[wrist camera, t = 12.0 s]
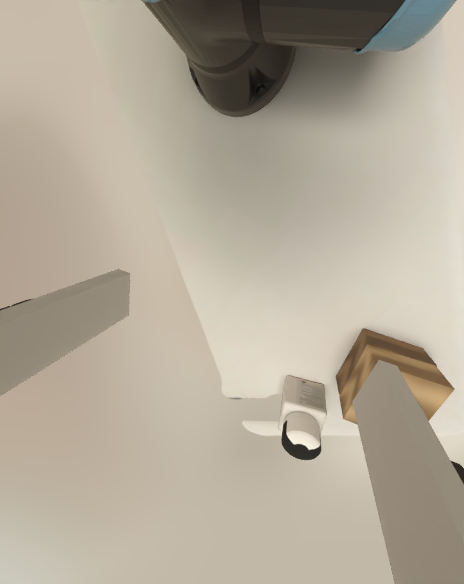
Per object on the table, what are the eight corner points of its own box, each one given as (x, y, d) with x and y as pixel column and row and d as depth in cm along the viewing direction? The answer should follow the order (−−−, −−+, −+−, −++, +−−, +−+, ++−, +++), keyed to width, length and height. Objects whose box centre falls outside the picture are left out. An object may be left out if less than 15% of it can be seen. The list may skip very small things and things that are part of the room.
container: (316, 410, 50) (319, 472, 39) (281, 400, 52) (274, 456, 41) (324, 384, 47) (330, 442, 36) (286, 374, 49) (281, 426, 38)
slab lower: (363, 327, 41) (370, 342, 37) (422, 347, 39) (437, 366, 35) (335, 375, 46) (339, 394, 42) (387, 395, 44) (396, 416, 40)
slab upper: (367, 344, 37) (376, 363, 32) (435, 365, 35) (454, 389, 31) (339, 396, 42) (343, 418, 37) (397, 417, 40) (409, 444, 35)
